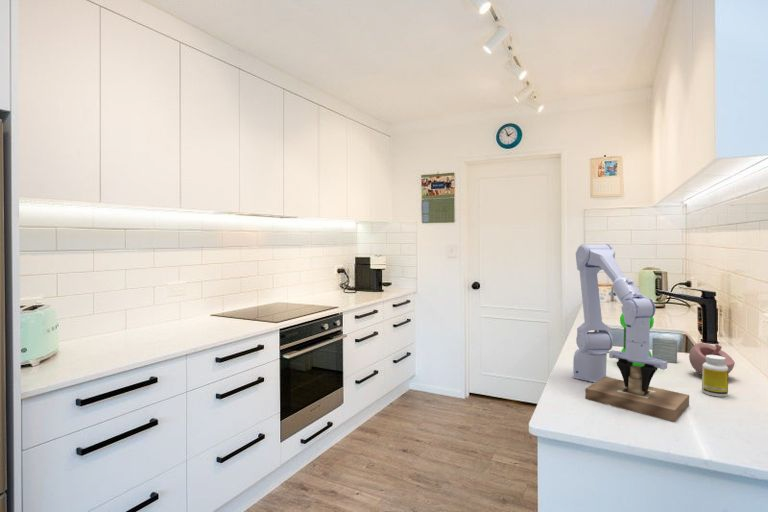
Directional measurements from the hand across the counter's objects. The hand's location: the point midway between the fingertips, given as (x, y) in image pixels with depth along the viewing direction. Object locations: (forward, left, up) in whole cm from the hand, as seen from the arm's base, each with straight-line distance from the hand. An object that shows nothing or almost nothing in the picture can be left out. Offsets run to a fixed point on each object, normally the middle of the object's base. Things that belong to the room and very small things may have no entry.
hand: (636, 388), depth 123 cm
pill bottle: (+14, +24, -4) cm, 28 cm away
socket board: (0, 0, -4) cm, 4 cm away
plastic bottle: (-11, +37, -4) cm, 39 cm away
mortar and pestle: (+10, +42, -4) cm, 43 cm away
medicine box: (-6, +53, -4) cm, 54 cm away
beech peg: (0, 0, -3) cm, 3 cm away
